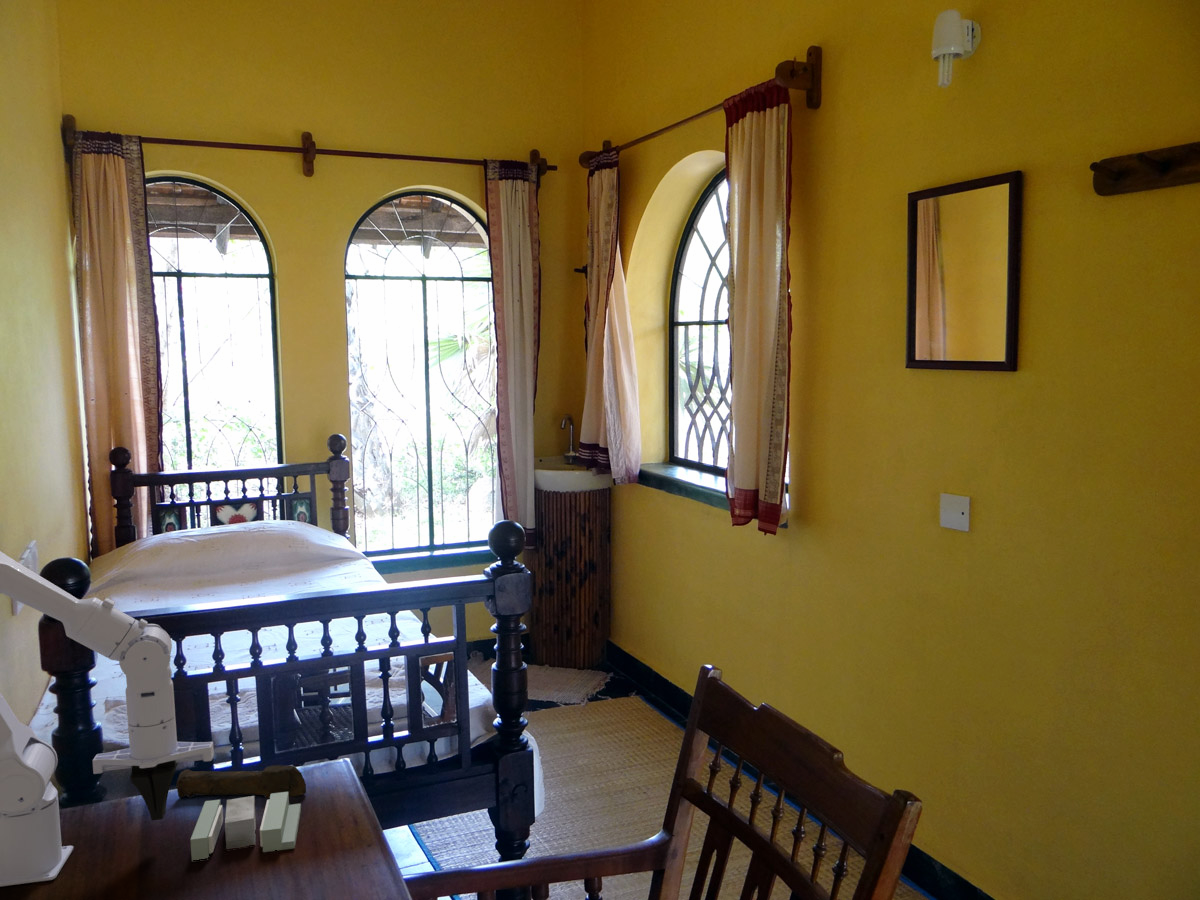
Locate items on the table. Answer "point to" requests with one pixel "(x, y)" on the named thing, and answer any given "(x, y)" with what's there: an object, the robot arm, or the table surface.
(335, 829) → the table surface
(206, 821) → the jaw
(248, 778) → the brown wooden log
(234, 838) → the block
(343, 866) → the table surface
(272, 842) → the pale green bar
